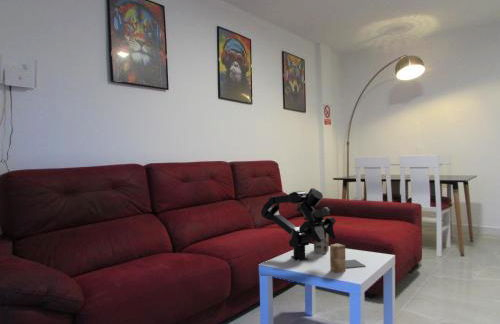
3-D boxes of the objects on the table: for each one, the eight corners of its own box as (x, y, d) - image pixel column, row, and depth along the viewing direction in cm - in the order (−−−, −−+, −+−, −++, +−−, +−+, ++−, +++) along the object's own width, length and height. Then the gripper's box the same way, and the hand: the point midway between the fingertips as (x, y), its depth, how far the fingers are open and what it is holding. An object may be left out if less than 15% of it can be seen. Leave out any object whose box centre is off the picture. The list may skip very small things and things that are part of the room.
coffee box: (326, 254, 180) (325, 222, 180) (313, 253, 182) (313, 221, 182) (329, 249, 188) (328, 219, 188) (316, 249, 191) (316, 218, 191)
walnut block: (330, 270, 155) (329, 245, 154) (337, 268, 157) (337, 243, 157) (338, 273, 151) (338, 247, 151) (345, 270, 153) (345, 245, 153)
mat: (335, 262, 167) (335, 261, 167) (354, 260, 168) (354, 259, 168) (344, 268, 157) (344, 267, 157) (365, 266, 159) (365, 265, 159)
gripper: (303, 203, 157) (322, 232, 148) (332, 200, 168) (351, 226, 159) (291, 219, 164) (309, 247, 155) (320, 214, 175) (338, 241, 166)
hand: (327, 240), depth 158 cm, fingers open, 9 cm apart
